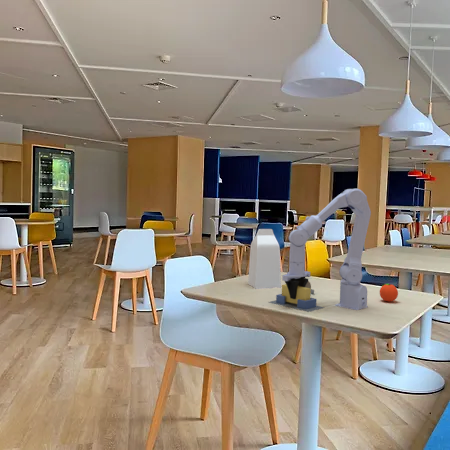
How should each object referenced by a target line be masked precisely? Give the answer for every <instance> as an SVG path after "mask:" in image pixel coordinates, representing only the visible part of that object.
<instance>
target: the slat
mask: <svg viewBox="0 0 450 450" xmlns="http://www.w3.org/2000/svg"><path fill="white" fill-rule="evenodd" d="M311 289H312V287H311V288H306V287H301V286H298V288H297V294H296V299H291V298H290V294H289V290H288V287H287V285H286V283H284V284H281V294H282V296H286V299H285V301H286V302H291V303H295V304H297V300H298V299H300V300H305V301H306V300H310V298H311V295H312V293H311Z"/></svg>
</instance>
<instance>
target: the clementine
mask: <svg viewBox="0 0 450 450" xmlns="http://www.w3.org/2000/svg"><path fill="white" fill-rule="evenodd" d="M379 296H380V298H381V299H382V300H383V301H384V302H388V303H389V302H390V303H391V302H393V301H395V300H396V299H397V298H398V296H399V291H398V288H397V287H396V286H395V285H394V284H391V283H383V284H382V285H381V287H380V289H379Z"/></svg>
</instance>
